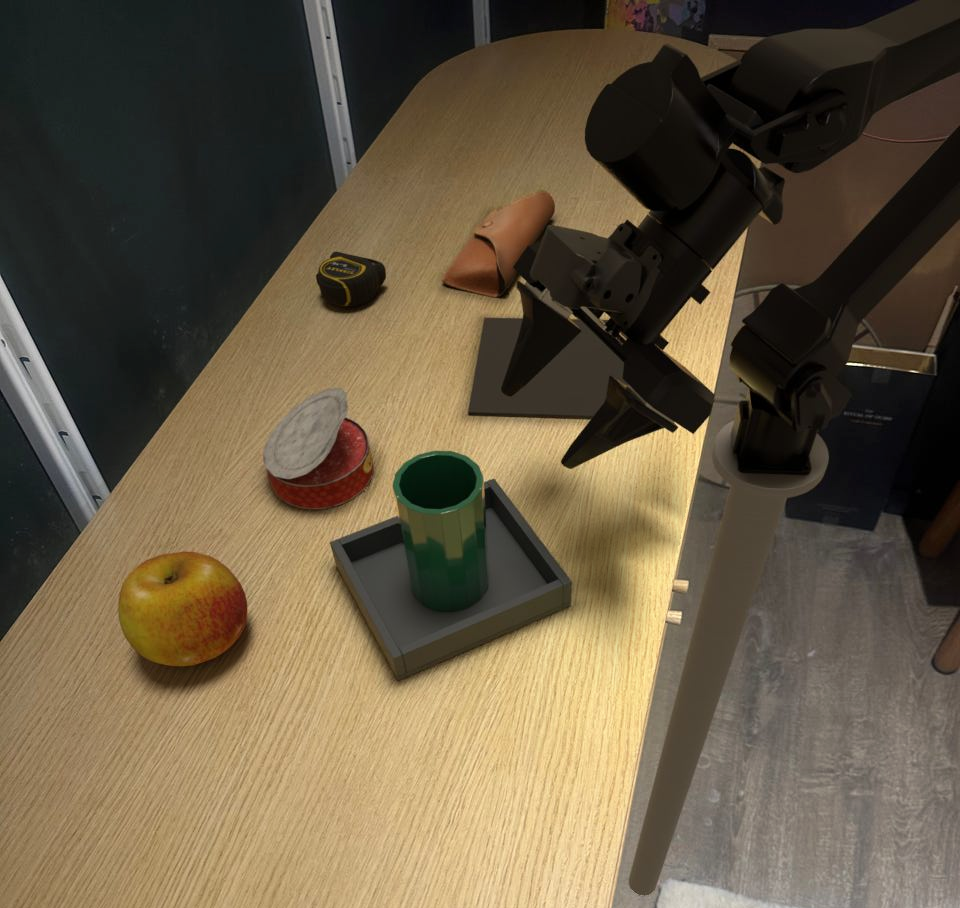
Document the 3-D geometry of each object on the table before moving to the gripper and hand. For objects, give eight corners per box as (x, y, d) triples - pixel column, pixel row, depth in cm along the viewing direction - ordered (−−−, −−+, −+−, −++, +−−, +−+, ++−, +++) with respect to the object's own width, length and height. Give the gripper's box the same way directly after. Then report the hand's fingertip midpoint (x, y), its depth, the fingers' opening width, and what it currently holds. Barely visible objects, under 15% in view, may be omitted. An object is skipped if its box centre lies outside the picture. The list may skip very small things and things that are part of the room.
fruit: (246, 582, 73) (218, 517, 67) (267, 662, 68) (240, 600, 62) (134, 615, 72) (95, 552, 65) (147, 700, 67) (106, 640, 60)
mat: (630, 323, 93) (630, 320, 92) (630, 420, 83) (630, 416, 83) (484, 320, 94) (484, 317, 94) (468, 415, 85) (467, 411, 85)
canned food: (349, 540, 82) (306, 509, 72) (268, 495, 85) (216, 460, 75) (408, 439, 82) (373, 395, 73) (325, 397, 85) (281, 349, 75)
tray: (495, 503, 78) (494, 477, 75) (571, 605, 70) (572, 581, 68) (336, 566, 74) (329, 541, 72) (398, 681, 67) (392, 658, 64)
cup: (492, 558, 74) (487, 452, 64) (485, 618, 70) (477, 515, 60) (417, 554, 74) (400, 449, 65) (406, 614, 71) (386, 511, 61)
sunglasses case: (491, 206, 108) (515, 162, 102) (536, 240, 109) (563, 199, 104) (437, 284, 98) (461, 240, 93) (488, 320, 100) (515, 279, 94)
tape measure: (391, 287, 99) (386, 256, 96) (360, 319, 96) (355, 288, 93) (341, 274, 101) (335, 244, 98) (310, 305, 98) (303, 275, 95)
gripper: (537, 118, 56) (404, 320, 62) (705, 250, 46) (525, 474, 52) (628, 205, 64) (502, 375, 70) (788, 333, 54) (624, 518, 60)
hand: (534, 428), depth 63 cm, fingers open, 9 cm apart
